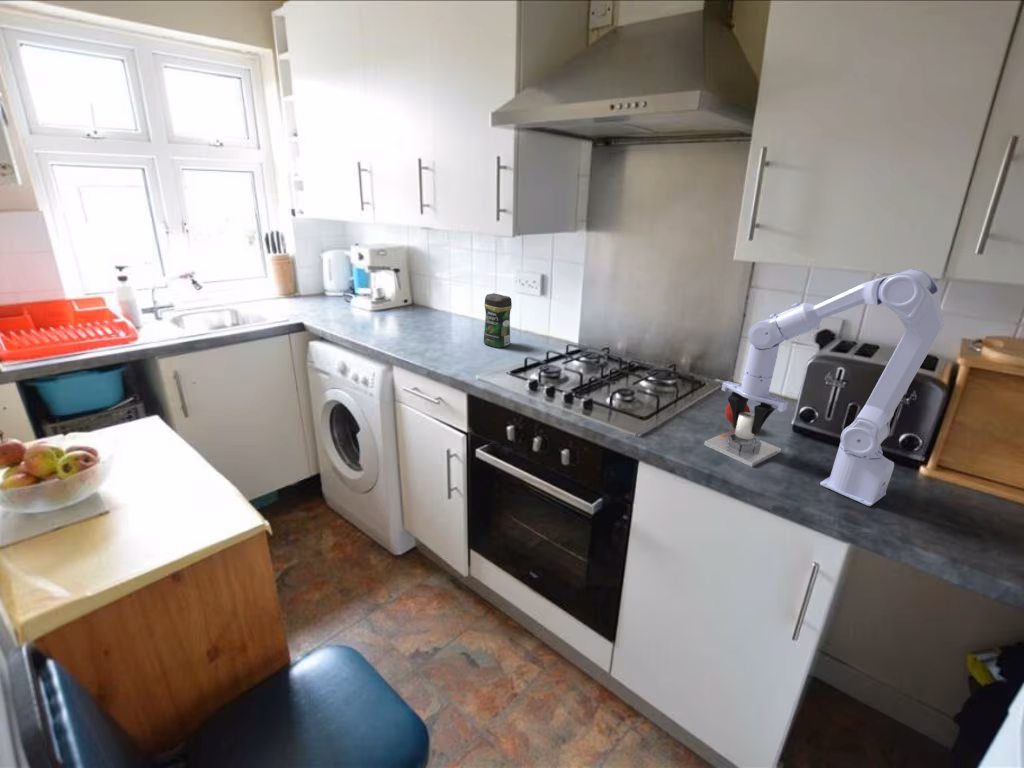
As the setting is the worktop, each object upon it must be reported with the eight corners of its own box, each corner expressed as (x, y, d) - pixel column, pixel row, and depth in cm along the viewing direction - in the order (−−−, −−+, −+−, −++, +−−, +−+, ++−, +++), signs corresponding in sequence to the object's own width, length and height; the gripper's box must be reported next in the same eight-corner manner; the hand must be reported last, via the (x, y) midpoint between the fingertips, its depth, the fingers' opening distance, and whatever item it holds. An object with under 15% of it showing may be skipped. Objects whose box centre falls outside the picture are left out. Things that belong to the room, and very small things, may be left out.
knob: (756, 436, 120) (761, 415, 118) (748, 441, 118) (752, 420, 116) (740, 429, 123) (744, 409, 121) (731, 434, 121) (735, 414, 119)
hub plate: (779, 452, 121) (782, 442, 120) (751, 466, 114) (753, 456, 113) (732, 432, 130) (734, 423, 129) (704, 444, 123) (705, 435, 122)
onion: (727, 419, 137) (732, 390, 134) (749, 425, 134) (756, 397, 131) (719, 426, 133) (725, 397, 130) (742, 433, 129) (749, 403, 127)
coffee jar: (479, 343, 191) (480, 293, 185) (494, 339, 197) (496, 290, 190) (498, 349, 186) (500, 298, 179) (513, 345, 191) (515, 295, 184)
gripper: (800, 380, 112) (785, 436, 117) (738, 361, 122) (727, 413, 127) (783, 386, 108) (769, 444, 113) (721, 366, 119) (710, 420, 123)
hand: (745, 428), depth 120 cm, fingers closed on knob, 4 cm apart
